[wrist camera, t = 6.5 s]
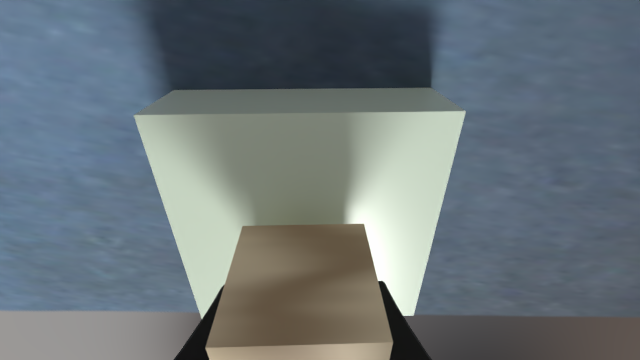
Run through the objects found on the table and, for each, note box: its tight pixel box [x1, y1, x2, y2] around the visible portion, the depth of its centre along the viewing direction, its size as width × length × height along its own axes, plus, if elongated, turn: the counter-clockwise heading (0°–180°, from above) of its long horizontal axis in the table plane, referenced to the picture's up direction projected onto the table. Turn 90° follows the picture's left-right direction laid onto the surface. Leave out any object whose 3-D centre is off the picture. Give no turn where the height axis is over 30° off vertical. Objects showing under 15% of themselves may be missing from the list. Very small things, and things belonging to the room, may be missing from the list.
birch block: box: [205, 224, 393, 360], centre depth 10 cm, size 4×4×4 cm
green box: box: [134, 88, 466, 318], centre depth 15 cm, size 12×12×4 cm
